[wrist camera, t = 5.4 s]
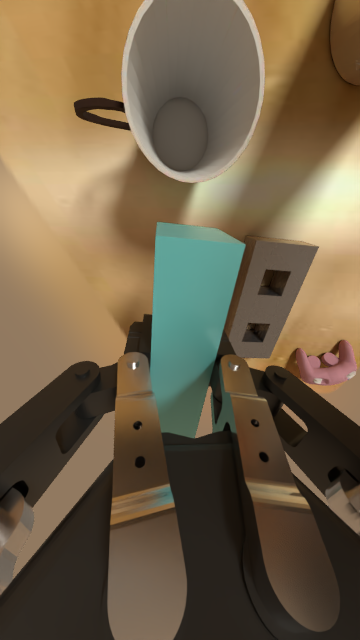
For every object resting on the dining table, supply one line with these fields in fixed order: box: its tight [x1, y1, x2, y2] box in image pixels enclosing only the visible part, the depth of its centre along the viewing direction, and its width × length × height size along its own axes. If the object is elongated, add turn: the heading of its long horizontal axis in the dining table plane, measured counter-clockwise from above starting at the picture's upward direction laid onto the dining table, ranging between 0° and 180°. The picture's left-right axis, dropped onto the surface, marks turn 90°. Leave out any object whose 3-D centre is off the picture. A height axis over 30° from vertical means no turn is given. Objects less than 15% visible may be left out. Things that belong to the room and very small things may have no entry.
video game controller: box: [296, 340, 357, 385], centre depth 37 cm, size 10×5×7 cm, turn 99°
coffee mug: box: [74, 0, 265, 183], centre depth 16 cm, size 12×9×10 cm
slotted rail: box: [224, 236, 319, 358], centre depth 30 cm, size 18×8×4 cm, turn 174°
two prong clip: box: [150, 222, 246, 438], centre depth 13 cm, size 12×3×7 cm, turn 174°
